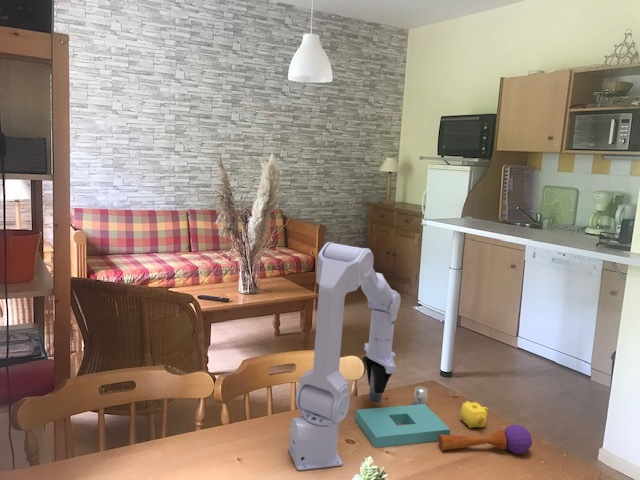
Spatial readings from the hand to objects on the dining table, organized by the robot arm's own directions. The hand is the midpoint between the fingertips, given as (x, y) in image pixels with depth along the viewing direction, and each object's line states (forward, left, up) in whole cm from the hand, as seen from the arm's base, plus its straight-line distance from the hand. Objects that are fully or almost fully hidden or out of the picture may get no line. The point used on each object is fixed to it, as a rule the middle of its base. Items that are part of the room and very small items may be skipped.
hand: (376, 389), depth 130 cm
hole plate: (+2, -11, -5) cm, 12 cm away
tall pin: (0, 0, -3) cm, 3 cm away
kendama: (+17, -22, -5) cm, 28 cm away
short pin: (+12, -1, -5) cm, 13 cm away
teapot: (+21, -12, -5) cm, 25 cm away
